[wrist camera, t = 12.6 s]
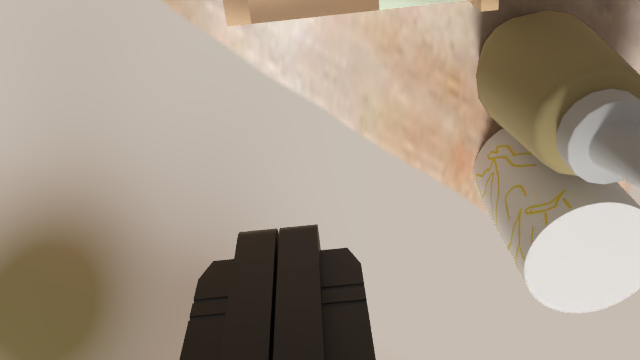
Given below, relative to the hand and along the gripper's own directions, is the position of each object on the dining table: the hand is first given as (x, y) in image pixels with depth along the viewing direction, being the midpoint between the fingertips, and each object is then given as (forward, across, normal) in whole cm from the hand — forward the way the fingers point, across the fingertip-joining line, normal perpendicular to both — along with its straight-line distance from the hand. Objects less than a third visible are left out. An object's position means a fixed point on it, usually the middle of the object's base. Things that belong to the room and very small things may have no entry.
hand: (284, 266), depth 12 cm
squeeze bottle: (+31, -15, +7) cm, 35 cm away
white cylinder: (+31, -16, +16) cm, 39 cm away
